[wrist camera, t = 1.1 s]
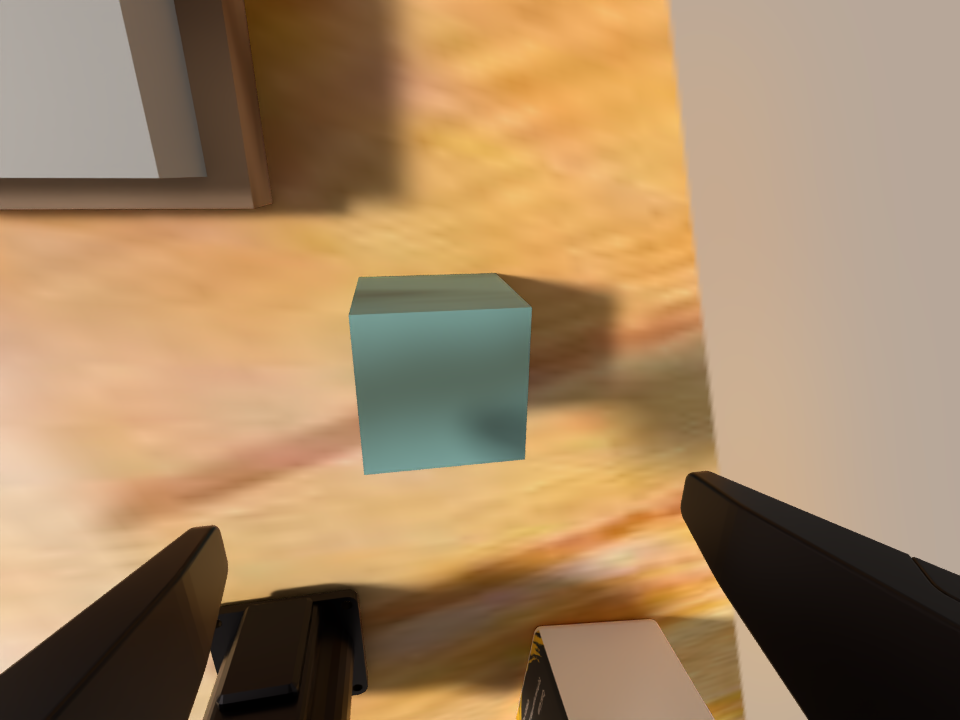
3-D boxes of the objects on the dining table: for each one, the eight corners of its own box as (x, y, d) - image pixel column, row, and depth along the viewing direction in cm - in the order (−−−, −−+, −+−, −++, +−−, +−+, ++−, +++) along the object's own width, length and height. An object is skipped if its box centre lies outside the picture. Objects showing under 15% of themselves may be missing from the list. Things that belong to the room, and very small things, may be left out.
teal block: (493, 392, 20) (524, 459, 15) (369, 401, 19) (364, 474, 14) (495, 272, 18) (531, 307, 13) (359, 276, 17) (348, 315, 13)
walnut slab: (276, 202, 16) (253, 208, 14) (-70, 202, 15) (-177, 209, 12) (221, -197, 13) (174, -299, 10) (-251, -258, 11) (-464, -402, 8)
